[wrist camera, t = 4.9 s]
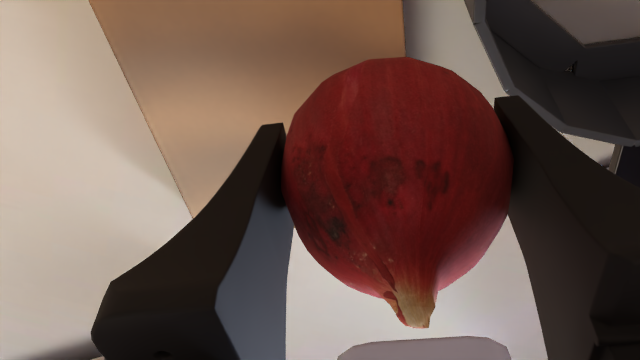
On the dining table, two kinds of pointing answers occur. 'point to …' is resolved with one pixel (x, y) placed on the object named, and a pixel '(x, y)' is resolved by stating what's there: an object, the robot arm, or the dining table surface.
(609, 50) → the cooking pot
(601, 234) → the robot arm
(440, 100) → the onion
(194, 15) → the cutting board
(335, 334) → the dining table surface
